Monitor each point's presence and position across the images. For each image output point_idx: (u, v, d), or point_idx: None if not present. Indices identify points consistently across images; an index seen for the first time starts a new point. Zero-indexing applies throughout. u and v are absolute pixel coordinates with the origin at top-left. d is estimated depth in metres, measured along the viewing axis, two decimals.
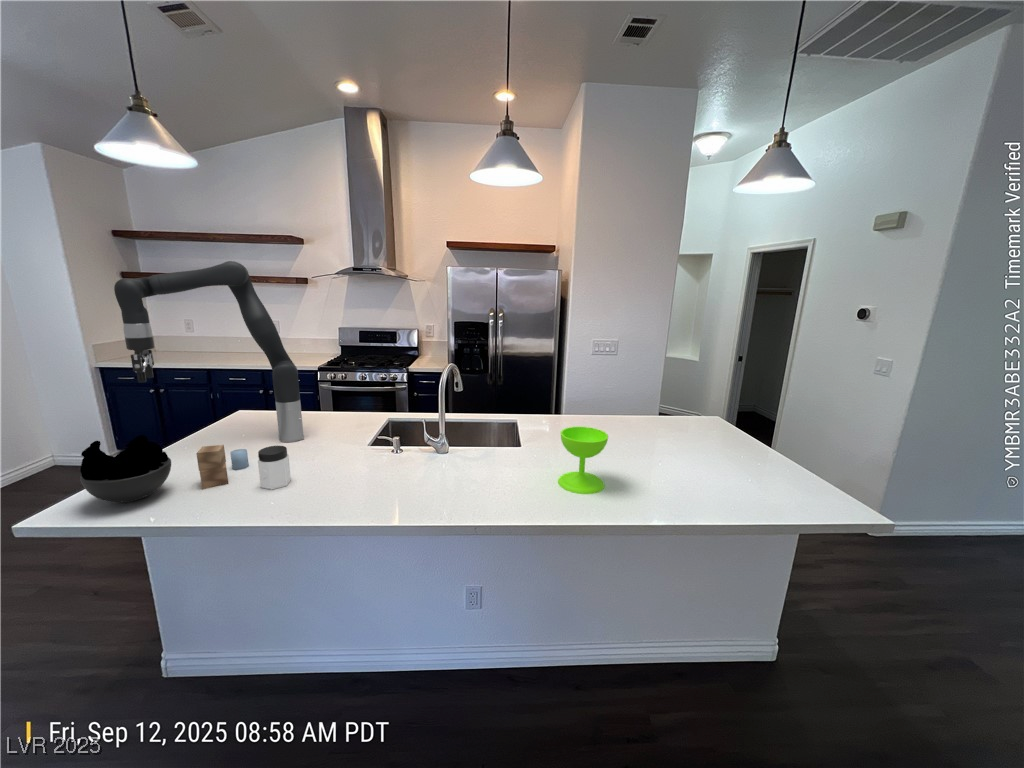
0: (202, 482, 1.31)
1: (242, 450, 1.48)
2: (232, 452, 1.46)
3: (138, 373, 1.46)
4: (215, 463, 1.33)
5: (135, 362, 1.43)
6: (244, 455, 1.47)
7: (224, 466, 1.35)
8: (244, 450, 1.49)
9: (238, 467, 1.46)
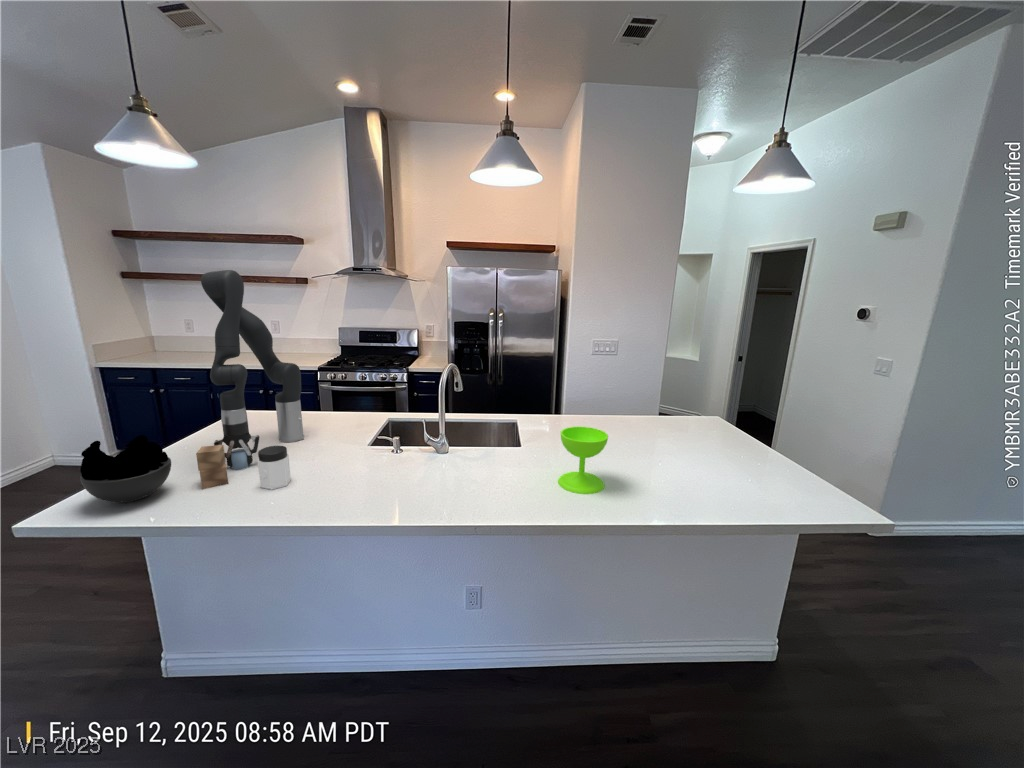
0: (202, 482, 1.31)
1: (242, 450, 1.48)
2: (232, 452, 1.46)
3: (251, 455, 1.49)
4: (214, 463, 1.33)
5: None
6: (244, 455, 1.47)
7: (224, 466, 1.35)
8: (244, 450, 1.48)
9: (238, 467, 1.46)
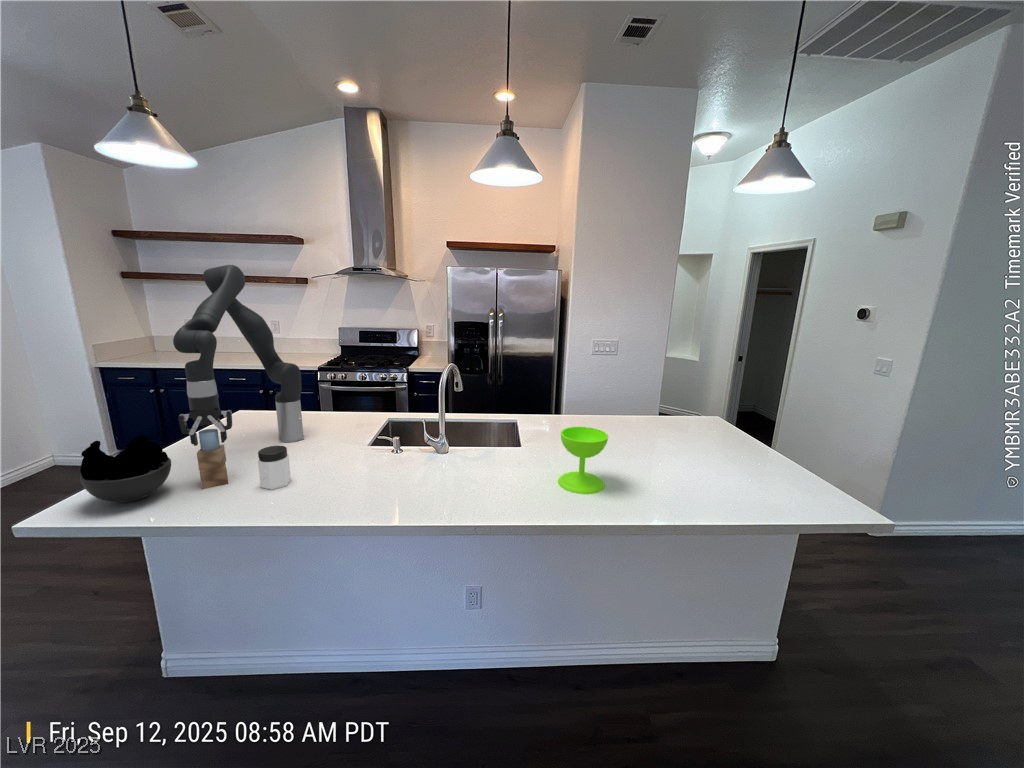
0: (202, 482, 1.31)
1: (212, 430, 1.34)
2: (201, 432, 1.32)
3: (225, 431, 1.35)
4: (215, 463, 1.33)
5: (231, 418, 1.35)
6: (214, 435, 1.32)
7: (224, 466, 1.35)
8: (214, 430, 1.34)
9: (207, 449, 1.32)
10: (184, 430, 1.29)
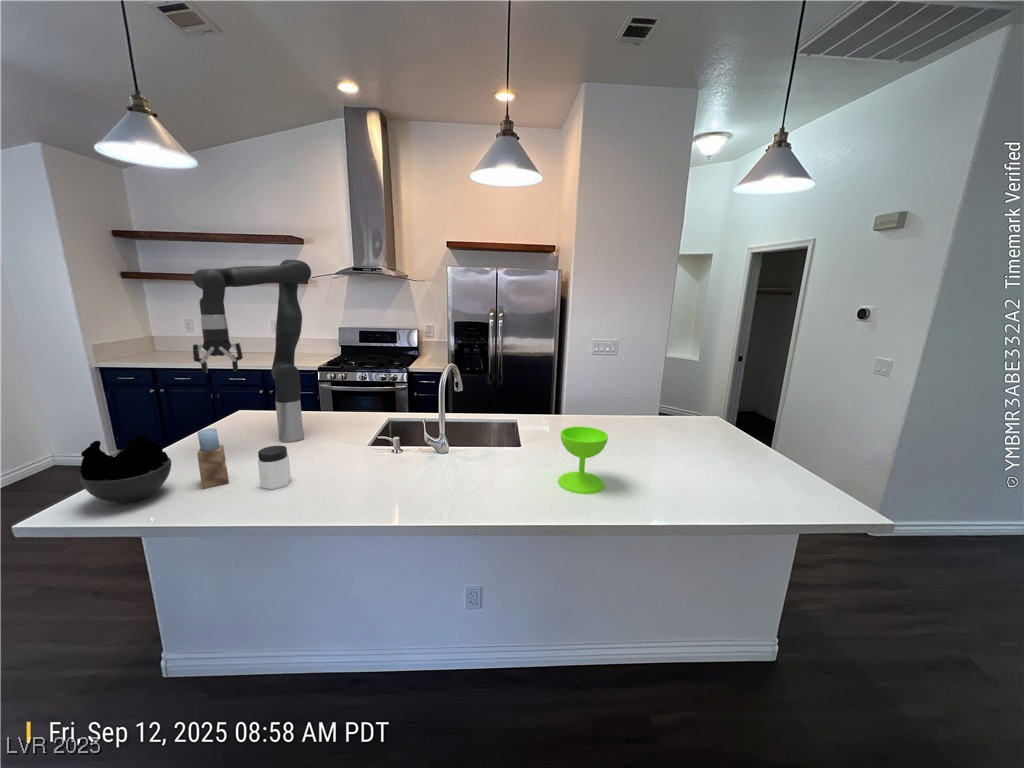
0: (202, 482, 1.31)
1: (211, 429, 1.34)
2: (200, 432, 1.31)
3: None
4: (216, 463, 1.33)
5: (240, 350, 1.51)
6: (214, 434, 1.33)
7: (224, 466, 1.35)
8: (213, 429, 1.34)
9: (208, 448, 1.32)
10: (196, 358, 1.44)
